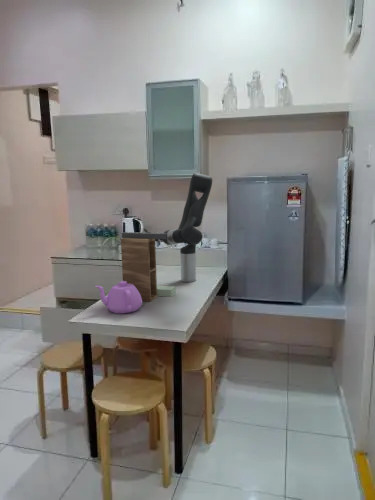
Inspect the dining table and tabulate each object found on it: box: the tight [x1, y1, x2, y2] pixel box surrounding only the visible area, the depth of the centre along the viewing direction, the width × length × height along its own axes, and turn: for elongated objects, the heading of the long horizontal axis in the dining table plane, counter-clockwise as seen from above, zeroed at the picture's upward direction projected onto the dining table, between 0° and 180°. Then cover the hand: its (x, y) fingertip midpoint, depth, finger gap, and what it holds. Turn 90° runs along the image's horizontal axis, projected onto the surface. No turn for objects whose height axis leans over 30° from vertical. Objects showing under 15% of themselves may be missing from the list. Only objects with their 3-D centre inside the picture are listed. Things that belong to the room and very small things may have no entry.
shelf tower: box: [120, 237, 158, 303], centre depth 201 cm, size 9×15×32 cm, turn 71°
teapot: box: [95, 280, 143, 314], centre depth 185 cm, size 22×22×14 cm
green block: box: [157, 285, 176, 298], centre depth 211 cm, size 7×16×4 cm, turn 71°
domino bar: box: [121, 231, 167, 239], centre depth 197 cm, size 3×24×3 cm, turn 71°
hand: (156, 239), depth 213 cm, fingers open, 7 cm apart
